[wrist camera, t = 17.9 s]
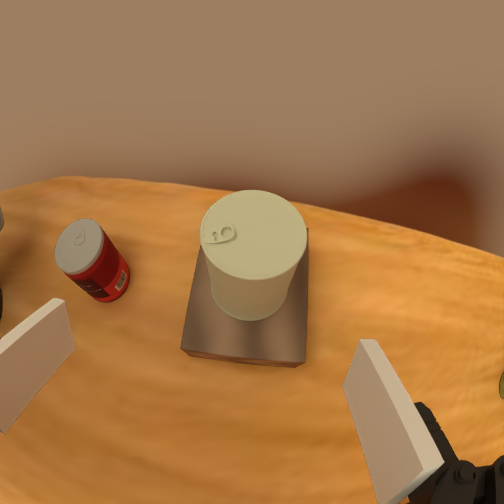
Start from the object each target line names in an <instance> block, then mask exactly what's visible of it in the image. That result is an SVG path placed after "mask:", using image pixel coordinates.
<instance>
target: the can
mask: <svg viewBox="0 0 504 504" xmlns="http://www.w3.org/2000/svg"><path fill="white" fill-rule="evenodd" d="M200 242H201V246H202V249H203V251H204V255H205V259H206V263H207V267H208V271H209V275H210V280H211V291H212V295H213V298H214V300H215V302H216V303H217V305H218V306H219V307H220V308H221V309H222V310H223V311H224V312H225V313H226V314H228V315H230V316H232V317H234V318H236V319H239V320H245V321H256V320H260V319H264V318H266V317H268V316H270V315H272V314H273V313H275V312H276V311H277V310H278V309H279V308H280V307H281V306H282V304H283V302H284V301H285V298H286V296H287V292H288V287H289V285H290V282H291V280H292V277H293V275H294V273H295V270H296V268H297V265H298V263H299V261H300V259H301V257H302V256H303V254H304V251H305V249H306V245H307V228H306V225H305V222H304V220H303V218H302V216H301V214H300V213H299V212H298V210H297V209H296V208H295V207H294V206H293V205H292V204H291V203H290V202H288V201H287V200H285V199H284V198H282V197H280V196H278V195H276V194H273V193H270V192H265V191H260V190H244V191H238V192H235V193H231V194H229V195H227V196H225V197H223V198H221V199H219V200H218V201H217V202H215V203H214V204H213V205H212V206H211V207H210V208H209V209H208V211H207V212H206V214H205V215H204V217H203V220H202V223H201V226H200Z"/></svg>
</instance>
